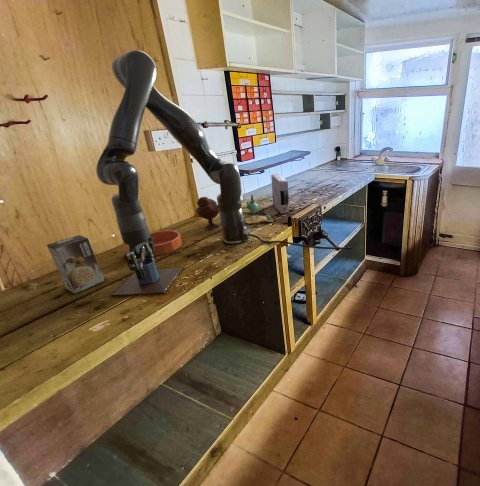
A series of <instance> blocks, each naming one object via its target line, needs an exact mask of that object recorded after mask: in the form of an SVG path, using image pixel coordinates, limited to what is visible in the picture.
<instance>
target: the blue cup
mask: <svg viewBox="0 0 480 486" xmlns="http://www.w3.org/2000/svg"><path fill="white" fill-rule="evenodd" d="M138 265H139V262H138ZM143 268H144V272H145V275H146V278H145V279H138V277H137V279H138V282H139V283H141V284H143V285H146V284H151V283H154V282H155V281H157V280H158V278H159V274H158V271H157V269H158V268H157V264H156V261H155V258H145V257H144V261H143ZM134 273H136V271H135V270H134ZM136 276H137V274H136Z"/></svg>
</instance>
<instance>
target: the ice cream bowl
mask: <svg viewBox="0 0 480 486" xmlns="http://www.w3.org/2000/svg"><path fill="white" fill-rule="evenodd" d="M196 204H197V205H196V206H198V207H196V208H195V212H196V214H197V215H198V216H199V217H201V218H202V219H204V220H207V221H208V224H207V225H205V228H206V229H212V228H218V226H219V225H218V224H216V223H214V222H213V219H216V217H218V214H219V208H218V203H217V201H215V200H214V199H212V198H209V197H207V196H201V197H199V198H198V199H197V202H196Z"/></svg>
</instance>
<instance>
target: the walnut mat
mask: <svg viewBox="0 0 480 486" xmlns="http://www.w3.org/2000/svg"><path fill="white" fill-rule="evenodd" d="M182 270H183V267H168V268H157V271H158V274H159V278H158V280H157V281H155V282H154V283H151V284H146V285H143V284H141V283H139V282H138V279H137V276H136V273H135V272H133V273H132V274H131V275H130V276H129V277H128V278H127V279H126V280H125V281H124V282H123V283H122V284H121V285H120V286H119V287H118V288H117V290H115V291H114V292H113V293H112V294H111V296H112V297H124V296H125V297H126V296H141V295H142V296H143V295H160V294H161V295H162V294H166V292H167V291H168V289H169V288H170V287H171V286H172V284H173V282H174V281H175V280H176V279H177V277H178V276H179V275H180V274H181V272H182Z"/></svg>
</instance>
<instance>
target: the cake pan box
mask: <svg viewBox="0 0 480 486" xmlns="http://www.w3.org/2000/svg"><path fill="white" fill-rule="evenodd" d="M270 175H271V192H272V206H274V207H275V209H276V210H277V211H278V212H279V213H280V214H282V215H283V214H289V213H290V204H289V203H290V198H289V197H290V196H289V181H288V180H287V178H285V177H284V176H282V175H280V174H279V173H273V174H272V173H271V174H270Z"/></svg>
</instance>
